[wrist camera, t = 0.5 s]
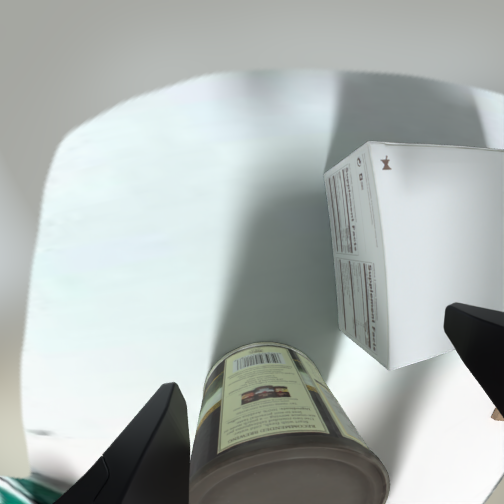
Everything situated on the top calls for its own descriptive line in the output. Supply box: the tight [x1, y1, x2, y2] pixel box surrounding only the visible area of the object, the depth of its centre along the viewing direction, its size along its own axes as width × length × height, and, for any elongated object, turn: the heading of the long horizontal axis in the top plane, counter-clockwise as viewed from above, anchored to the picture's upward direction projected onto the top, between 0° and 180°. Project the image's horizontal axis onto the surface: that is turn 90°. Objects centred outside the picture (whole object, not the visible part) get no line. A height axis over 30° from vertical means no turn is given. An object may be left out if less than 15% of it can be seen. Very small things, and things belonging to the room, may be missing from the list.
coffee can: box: [189, 342, 390, 504], centre depth 17 cm, size 10×10×14 cm
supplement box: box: [324, 141, 504, 371], centre depth 20 cm, size 17×13×9 cm
